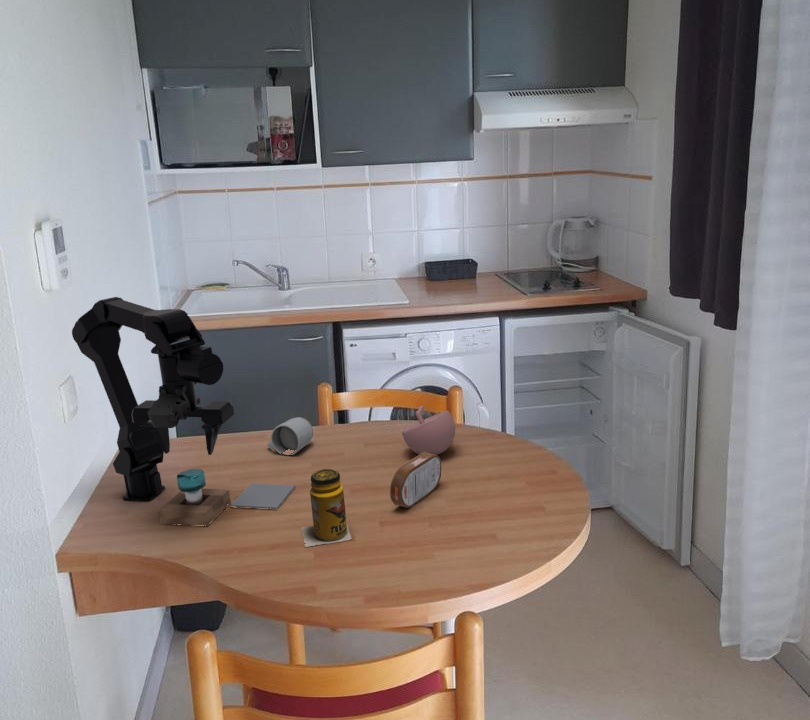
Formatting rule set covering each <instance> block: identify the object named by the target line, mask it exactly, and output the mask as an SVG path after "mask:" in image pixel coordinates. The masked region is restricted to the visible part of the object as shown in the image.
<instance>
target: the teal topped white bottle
mask: <svg viewBox="0 0 810 720" xmlns="http://www.w3.org/2000/svg"><path fill="white" fill-rule="evenodd" d="M176 480H177V486H178V487H177V488H178V490H179V492H180V491H183V492H185V497H186V504H187V505H195V506H200V505H201V504H202V503H203V497H202V490H201V488H202V489H204V488H205V486H206V475H205V471H204V470H203V469H202V468H201V469H200V468H190V469H186V470H183V471H181V472H179V473H178V474H177V475H176Z"/></svg>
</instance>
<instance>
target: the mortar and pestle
mask: <svg viewBox="0 0 810 720" xmlns="http://www.w3.org/2000/svg"><path fill="white" fill-rule="evenodd" d="M423 411H424V405H420V406H419V407H418V410H416V411H415V416H416V418H417V420H418V421H417V422H415V423H411V424H409V425H406V426H405V427H404V428H403V429H402V430H401V435H402V438H403V440H404V443H405V444H406V445H407V447H408V448H409V450H411V451H412V452H413V453H415V454H417V455H419V454H421V453H423V452H429V453H431V454H435V455H437V456H439V455H440V454H442V453H444V452H445V451H446V450H448V448H450V447H451V445H452V443H453V441H454V439H455V434H456V424H455V420H454V417H453V416H452V414H451V413H450V411H449V410H445V411H443V412H439V413H437V414H434V415H432V416H430V417H429V416H428V417H427V418H425V419H424V417H423Z"/></svg>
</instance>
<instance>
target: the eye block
mask: <svg viewBox="0 0 810 720" xmlns="http://www.w3.org/2000/svg"><path fill="white" fill-rule="evenodd" d="M201 490H202V497H203V503H202V504H201V505H200V506H195V505H187V504H186V497H185V492H183V491H180V490H179V492H177V494H175V495H174V496H173V497H172V498H171V499H170V500H168V501H167V502H166V503H165V504H164V505H162V507H160V509H158V516H159V517H158V518H159V522H160V525H163V524H164V526H165V524H169V525H168V526H171V525H170V524H176V525H175V526H178V525H177V524H181V525H204V526H205V525H206V526H208V525H209V523H210V522H211V521H212V520H213V519H214V518H215V517H216V516H217V515H218V514H219V513H220V512H221V511H222V510H223V509H224V508H225V507H226V506H227V504H229V503H230V502H231V496H230V489H223V488H221V489H220V488H219V489H218V488H201ZM231 503H232V502H231ZM231 503H230V504H231ZM230 504H229V505H230ZM227 507H228V506H227ZM227 507H226V508H227ZM209 526H210V525H209ZM209 526H208V527H209Z"/></svg>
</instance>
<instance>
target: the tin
mask: <svg viewBox="0 0 810 720" xmlns="http://www.w3.org/2000/svg"><path fill="white" fill-rule="evenodd" d="M441 477H442V459H441V458H440V456H439V455H435V454H431V453H429V452H423V453H421V454H417V455H416V456H414V457H413V458H412V459H409V460H408V461H407V462H405V463H403V464H401V465H400V466H399V467H398V468H397V469H396V472H395V473H394V475H393V477H392V479H391V483H390V488H389V489H390V490H389V496H390V500H391V503H393V505H395V506H400V507H403V508H406V509H407V508H411V507H413V506H414V505H416V504H418V503H419V502H420V501H422V500H423V499H424V498H426V497H428V496H429V495H430V494H432V493H433V492H434V491H435V490H436V489H437V487H438V485H439V483H440V480H441Z"/></svg>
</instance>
